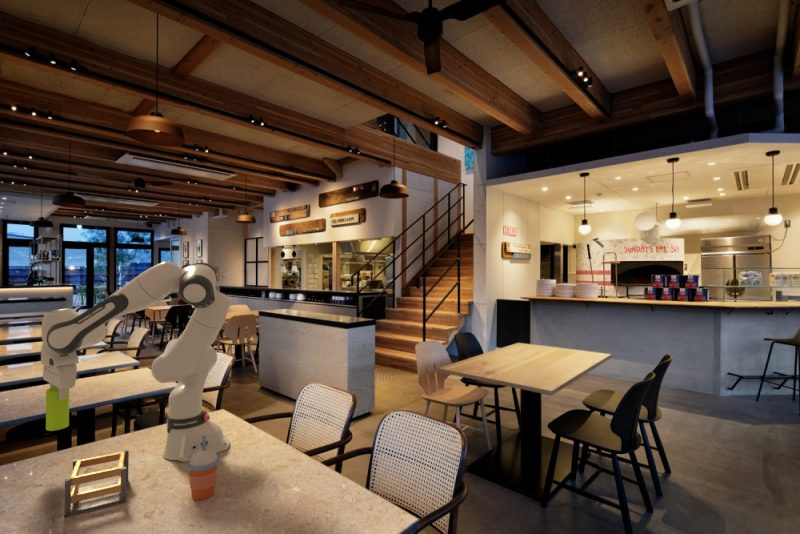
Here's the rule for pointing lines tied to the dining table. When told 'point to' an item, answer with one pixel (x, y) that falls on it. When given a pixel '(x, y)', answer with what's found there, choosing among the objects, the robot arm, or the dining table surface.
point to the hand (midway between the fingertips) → (58, 397)
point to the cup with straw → (203, 472)
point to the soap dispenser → (56, 410)
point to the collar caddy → (96, 485)
